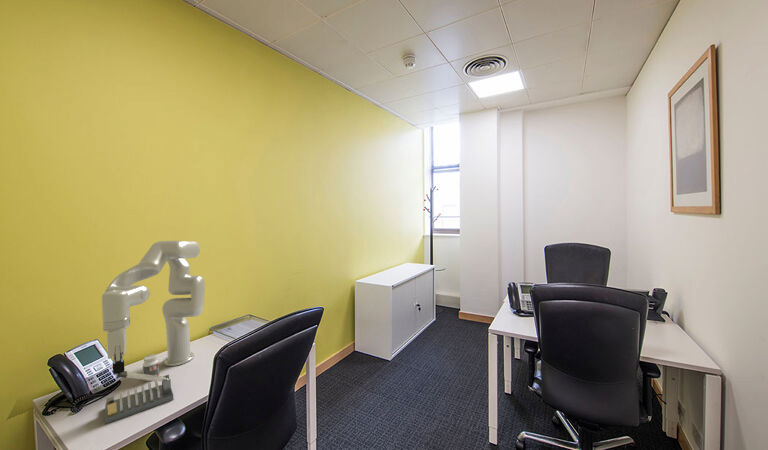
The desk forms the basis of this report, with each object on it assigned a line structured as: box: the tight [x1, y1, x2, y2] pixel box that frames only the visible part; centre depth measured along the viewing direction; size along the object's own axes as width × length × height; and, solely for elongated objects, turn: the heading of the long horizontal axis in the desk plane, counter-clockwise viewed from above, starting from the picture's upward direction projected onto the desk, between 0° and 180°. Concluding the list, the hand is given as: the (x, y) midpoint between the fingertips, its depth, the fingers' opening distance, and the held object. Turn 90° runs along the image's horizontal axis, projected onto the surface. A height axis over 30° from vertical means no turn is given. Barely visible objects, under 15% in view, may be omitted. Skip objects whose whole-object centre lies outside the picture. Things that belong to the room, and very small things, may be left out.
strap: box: [115, 370, 168, 383], centre depth 118 cm, size 18×4×1 cm, turn 133°
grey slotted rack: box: [104, 374, 174, 425], centre depth 117 cm, size 12×20×7 cm, turn 132°
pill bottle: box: [142, 353, 160, 382], centre depth 135 cm, size 6×6×10 cm
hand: (118, 372), depth 113 cm, fingers closed
